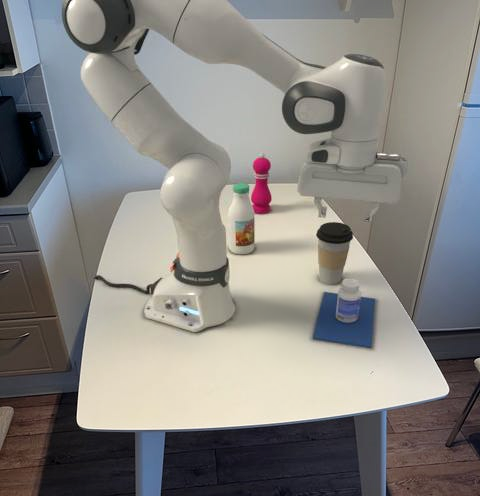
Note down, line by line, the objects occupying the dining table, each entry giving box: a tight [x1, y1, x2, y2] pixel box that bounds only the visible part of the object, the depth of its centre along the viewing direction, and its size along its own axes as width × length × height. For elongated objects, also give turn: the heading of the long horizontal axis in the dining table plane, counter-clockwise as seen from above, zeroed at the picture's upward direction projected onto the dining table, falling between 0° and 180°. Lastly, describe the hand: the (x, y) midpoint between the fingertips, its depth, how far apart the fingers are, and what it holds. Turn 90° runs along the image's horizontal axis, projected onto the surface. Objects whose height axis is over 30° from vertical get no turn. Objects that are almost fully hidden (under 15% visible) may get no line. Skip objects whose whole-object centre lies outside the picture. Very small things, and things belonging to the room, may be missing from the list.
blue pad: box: [312, 291, 376, 349], centre depth 119 cm, size 13×20×1 cm, turn 165°
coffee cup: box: [315, 221, 354, 285], centre depth 130 cm, size 9×9×15 cm
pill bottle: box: [336, 277, 362, 323], centre depth 116 cm, size 5×5×10 cm
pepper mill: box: [250, 152, 272, 215], centre depth 167 cm, size 7×7×20 cm
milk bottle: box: [227, 182, 256, 255], centre depth 143 cm, size 8×8×20 cm
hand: (344, 218), depth 101 cm, fingers open, 8 cm apart
